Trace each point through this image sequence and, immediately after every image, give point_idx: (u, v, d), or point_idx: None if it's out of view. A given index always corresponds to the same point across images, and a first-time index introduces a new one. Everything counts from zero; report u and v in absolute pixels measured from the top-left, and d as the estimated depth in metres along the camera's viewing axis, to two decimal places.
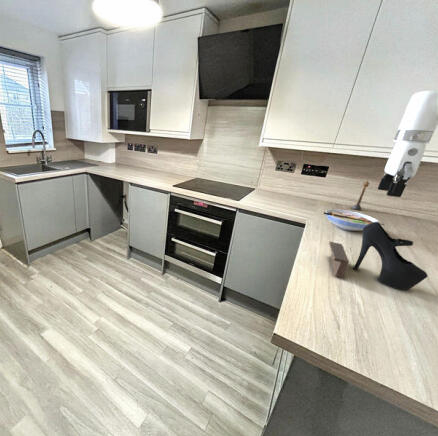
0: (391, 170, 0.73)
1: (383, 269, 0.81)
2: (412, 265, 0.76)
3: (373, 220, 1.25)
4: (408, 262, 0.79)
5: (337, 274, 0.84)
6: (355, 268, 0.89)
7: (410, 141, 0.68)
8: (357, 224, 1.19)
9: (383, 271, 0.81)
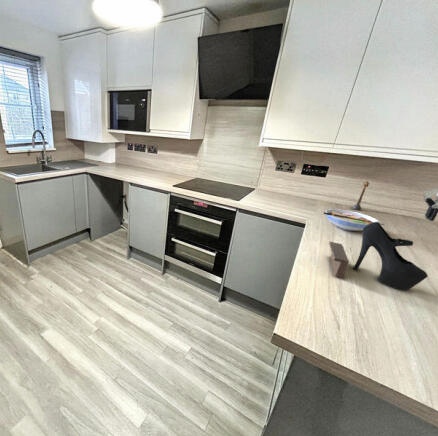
0: None
1: (383, 269, 0.81)
2: (412, 265, 0.76)
3: (373, 220, 1.25)
4: (408, 262, 0.79)
5: (337, 274, 0.84)
6: (355, 268, 0.89)
7: None
8: (357, 224, 1.19)
9: (383, 271, 0.81)
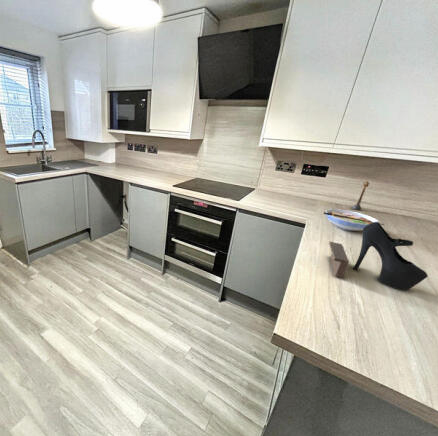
0: None
1: (383, 269, 0.81)
2: (412, 265, 0.76)
3: (373, 220, 1.25)
4: (408, 262, 0.79)
5: (337, 274, 0.84)
6: (355, 268, 0.89)
7: None
8: (357, 224, 1.19)
9: (383, 271, 0.81)
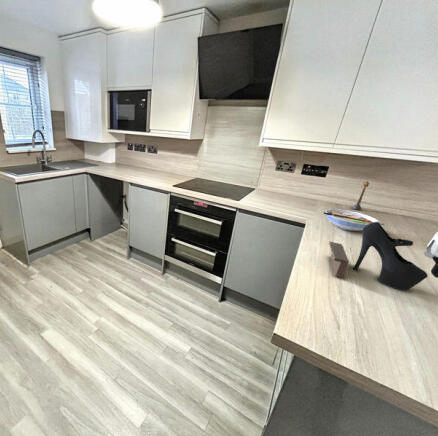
0: None
1: (383, 269, 0.81)
2: (412, 265, 0.76)
3: (373, 220, 1.25)
4: (408, 262, 0.79)
5: (337, 274, 0.84)
6: (355, 268, 0.89)
7: None
8: (357, 224, 1.19)
9: (383, 271, 0.81)
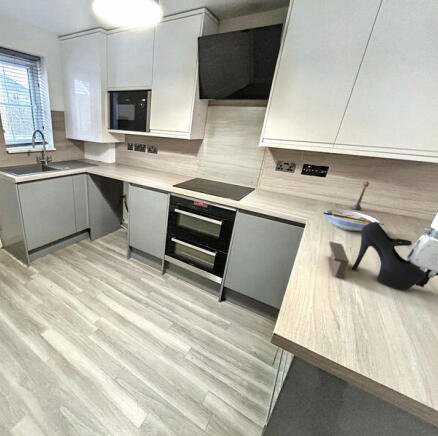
0: None
1: (382, 269, 0.82)
2: (411, 265, 0.76)
3: (373, 220, 1.25)
4: (407, 262, 0.79)
5: (337, 274, 0.84)
6: (354, 268, 0.89)
7: (426, 234, 0.76)
8: (357, 224, 1.19)
9: (382, 271, 0.81)
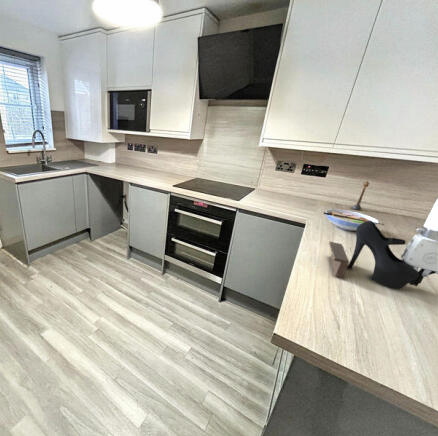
0: None
1: (376, 267, 0.82)
2: (404, 264, 0.77)
3: (373, 220, 1.25)
4: (401, 261, 0.79)
5: (337, 274, 0.84)
6: (349, 267, 0.90)
7: (419, 234, 0.77)
8: (357, 224, 1.19)
9: (376, 270, 0.82)
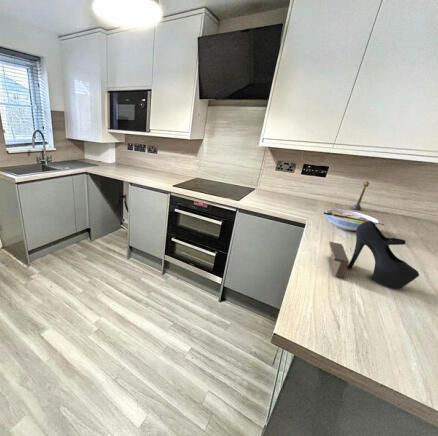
0: None
1: (376, 267, 0.82)
2: (404, 264, 0.77)
3: (373, 220, 1.25)
4: (401, 261, 0.79)
5: (337, 274, 0.84)
6: (349, 267, 0.90)
7: None
8: (357, 224, 1.19)
9: (376, 270, 0.82)
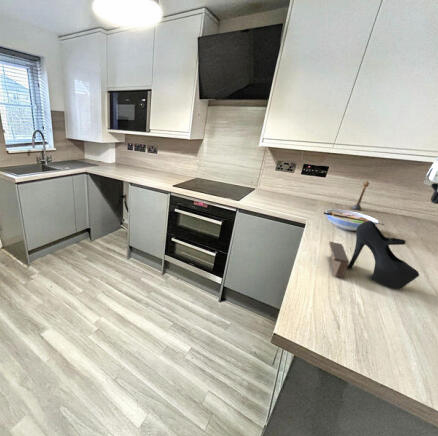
0: None
1: (376, 267, 0.82)
2: (404, 264, 0.77)
3: (373, 220, 1.25)
4: (401, 261, 0.79)
5: (337, 274, 0.84)
6: (349, 267, 0.90)
7: None
8: (357, 224, 1.19)
9: (376, 270, 0.82)
